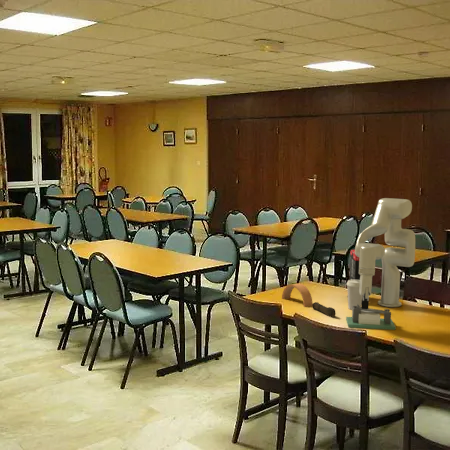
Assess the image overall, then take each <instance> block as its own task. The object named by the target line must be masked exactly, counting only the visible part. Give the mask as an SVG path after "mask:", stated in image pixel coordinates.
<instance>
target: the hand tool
mask: <svg viewBox="0 0 450 450" xmlns="http://www.w3.org/2000/svg"><path fill="white" fill-rule="evenodd" d="M311 307H312V310H316V311H318V312H320V313H323V314H325V315H326V316H327V317H329V318H333V319H335V318H336V314H337V313H336V309H335V308H333V307H327V306H325V305H323V304H320V303H319V302H318V301H317V302H312V306H311Z"/></svg>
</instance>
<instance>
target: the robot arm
mask: <svg viewBox="0 0 450 450" xmlns="http://www.w3.org/2000/svg"><path fill="white" fill-rule="evenodd" d="M412 209H413V204H412V201H411V200H410V199H406V198H405V199H404V198H389V197H384V198H380V199H378V201H377V206H376V209H375V212H374V214H373V218H372V220H371V224H370V225H369V226H368V227H366V228H365V229H364V230H363V231H362V232H360V234H359V235H358V237H357V240H356V244H355V248H354V250H355V254H356V256H357V257H360V259H359V274H360V286H359V293H360V295H362V303H361V308H362V309H368V308H369V304H370V303H369V299H370V298H369V297H370V296H371V295H372V287H373V285H372V284H373V276H375V274H376V273H375V272H376V260H381V265H382V266H381V267H382V270H381V271H382V272H381V290H380V291H381V292H380V293H381V294H380V299H379V300H378V301H377V305H379V306H381V307H387V308H399V307H401V306H402V302H401V301H400V286H401V272H400V270H399V268H398V267H405V268H410V267H413V266H414V264H415V259H416V234H415V232H414V231H413V230H412V229H407V228H402V220H404V219H405V218H406V217H407V218H408V217H409V215H411V213H412V211H413V210H412ZM381 235H384V242H385V244H386V245H388V246H392V247H384V246H383V245H382V244H379V243H371V242H369V243H368V242H367V241H368V240H370V239H371V238H374V237H377V236H381ZM393 246H394V247H393ZM399 247H401V248H399ZM402 247H404V248H402Z"/></svg>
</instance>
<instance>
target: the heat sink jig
mask: <svg viewBox="0 0 450 450" xmlns="http://www.w3.org/2000/svg"><path fill="white" fill-rule="evenodd" d="M359 307H360V306H359ZM383 310H384V311H388V312H386V314H383V318H381V313H376V312H369V311H363V310H361V309H358V308H356V306H352V310H351V316H346V317H345V318H346V319H345V321H346V323H347V328H352V329H354V328H355V329H372V330H375V329H376V330H389V331H391V330H394V331H396V328H397V327H396V325H395V323H394V321H393V319H392V312H391V310H390V309H386V308H385V309H383Z"/></svg>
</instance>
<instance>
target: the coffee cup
mask: <svg viewBox="0 0 450 450" xmlns="http://www.w3.org/2000/svg"><path fill="white" fill-rule="evenodd" d="M359 286H360V280H350V279H348V280H347V282H346V287H347V289H346V290H347V303H348V304H347V306H348V309H349V310H351V311H352V306H357V304H358V305H359V306H360V307H361V303H362V295H360V293H359Z"/></svg>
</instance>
